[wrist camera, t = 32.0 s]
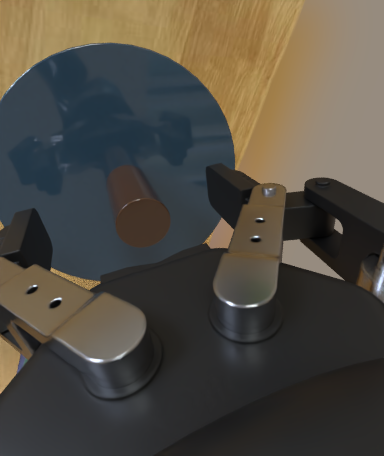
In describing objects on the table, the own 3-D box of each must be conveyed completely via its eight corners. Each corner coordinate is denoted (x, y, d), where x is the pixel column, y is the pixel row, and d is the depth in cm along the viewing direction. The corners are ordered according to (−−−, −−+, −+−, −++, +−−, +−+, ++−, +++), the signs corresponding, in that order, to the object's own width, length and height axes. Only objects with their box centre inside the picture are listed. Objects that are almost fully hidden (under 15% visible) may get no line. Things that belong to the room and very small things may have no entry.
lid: (-74, 65, 12) (-183, 62, 7) (220, 29, 15) (291, 9, 10) (49, 296, 19) (38, 377, 14) (231, 240, 22) (277, 290, 17)
